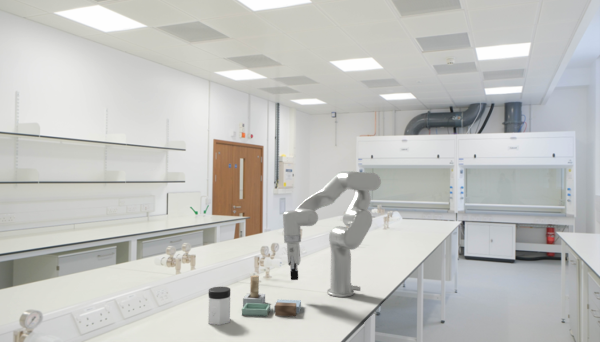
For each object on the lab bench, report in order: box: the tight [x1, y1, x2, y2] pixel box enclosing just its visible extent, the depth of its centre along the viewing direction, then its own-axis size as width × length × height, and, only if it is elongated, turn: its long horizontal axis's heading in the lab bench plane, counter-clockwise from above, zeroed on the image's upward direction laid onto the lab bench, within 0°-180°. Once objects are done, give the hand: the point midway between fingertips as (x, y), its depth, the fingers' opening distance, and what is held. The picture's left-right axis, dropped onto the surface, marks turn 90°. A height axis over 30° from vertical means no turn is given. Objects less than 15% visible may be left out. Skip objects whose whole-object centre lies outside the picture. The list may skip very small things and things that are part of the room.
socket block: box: [242, 292, 266, 308], centre depth 176 cm, size 8×8×4 cm
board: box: [273, 299, 302, 314], centre depth 171 cm, size 10×9×3 cm
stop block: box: [274, 301, 297, 317], centre depth 164 cm, size 8×4×4 cm, turn 85°
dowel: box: [249, 275, 260, 298], centre depth 177 cm, size 4×4×12 cm
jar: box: [207, 286, 231, 326], centre depth 155 cm, size 9×8×12 cm
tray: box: [241, 303, 271, 317], centre depth 166 cm, size 10×8×2 cm
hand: (294, 279), depth 184 cm, fingers closed
